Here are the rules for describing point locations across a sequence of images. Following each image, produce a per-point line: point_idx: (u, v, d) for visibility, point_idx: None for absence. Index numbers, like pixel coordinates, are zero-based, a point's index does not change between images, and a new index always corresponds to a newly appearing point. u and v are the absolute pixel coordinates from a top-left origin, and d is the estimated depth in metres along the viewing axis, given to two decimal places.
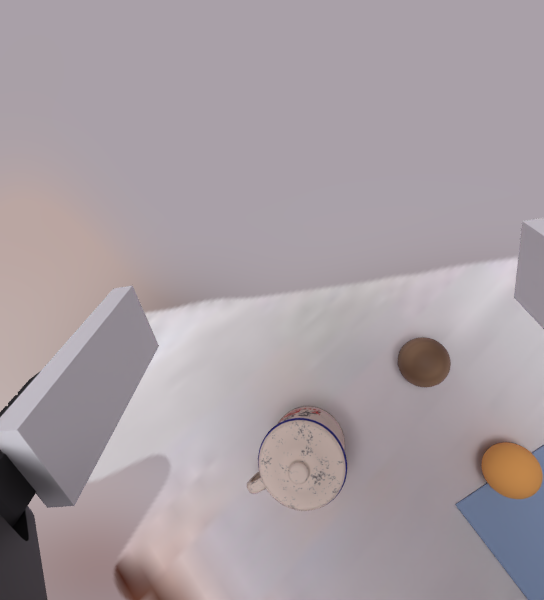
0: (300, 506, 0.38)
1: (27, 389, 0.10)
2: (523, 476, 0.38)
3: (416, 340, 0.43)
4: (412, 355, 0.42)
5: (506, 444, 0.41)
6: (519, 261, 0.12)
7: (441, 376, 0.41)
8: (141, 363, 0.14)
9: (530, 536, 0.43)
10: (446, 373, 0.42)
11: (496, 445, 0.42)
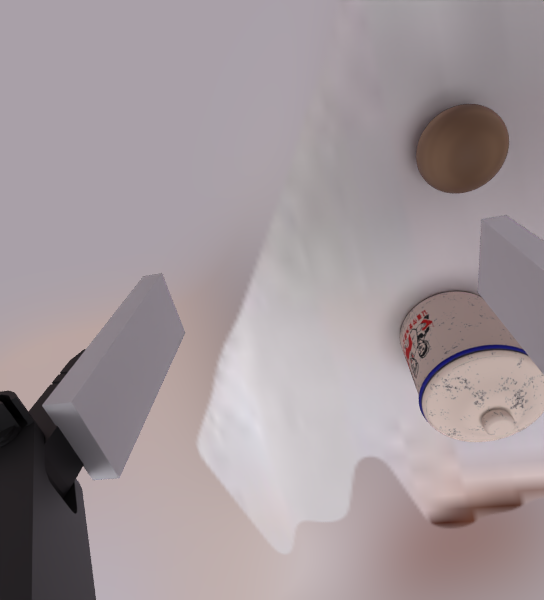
0: (529, 422, 0.29)
1: (74, 366, 0.10)
2: None
3: (425, 147, 0.25)
4: (445, 172, 0.25)
5: None
6: (480, 257, 0.13)
7: (505, 143, 0.24)
8: (171, 347, 0.14)
9: None
10: (505, 130, 0.24)
11: None
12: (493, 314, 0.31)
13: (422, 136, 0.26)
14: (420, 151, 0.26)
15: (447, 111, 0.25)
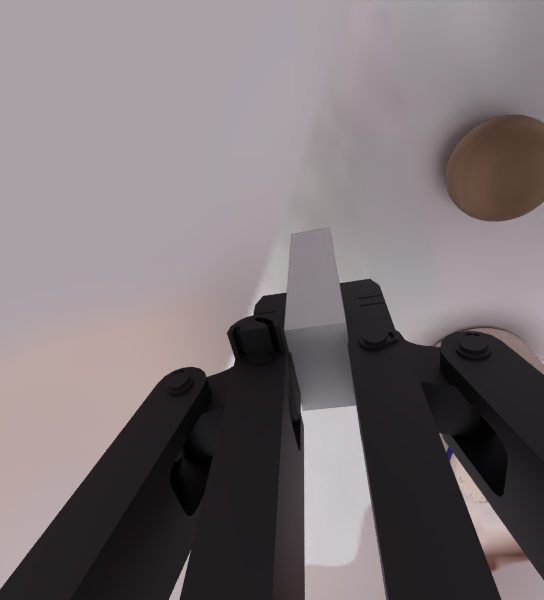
0: None
1: (288, 302, 0.11)
2: None
3: (459, 168, 0.21)
4: (484, 198, 0.20)
5: None
6: None
7: None
8: None
9: None
10: None
11: None
12: (531, 358, 0.27)
13: (454, 153, 0.21)
14: (452, 171, 0.21)
15: (486, 124, 0.20)
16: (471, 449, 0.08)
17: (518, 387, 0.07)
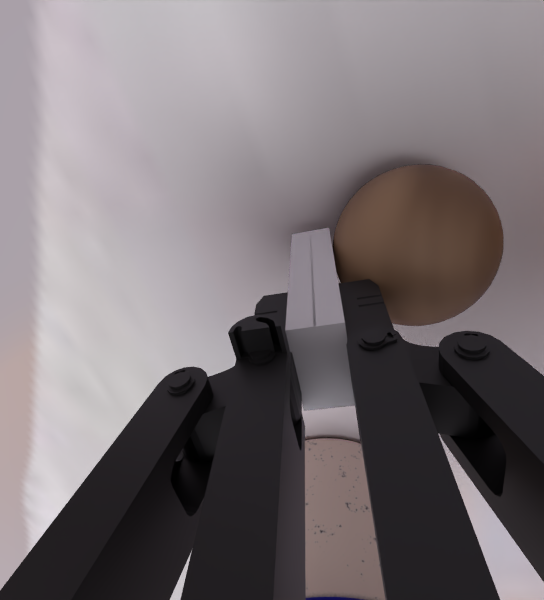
0: None
1: (289, 302, 0.11)
2: None
3: (412, 257, 0.11)
4: (464, 294, 0.12)
5: None
6: None
7: None
8: None
9: None
10: None
11: None
12: None
13: (380, 236, 0.12)
14: (394, 266, 0.11)
15: (406, 180, 0.12)
16: (469, 450, 0.08)
17: (516, 388, 0.07)
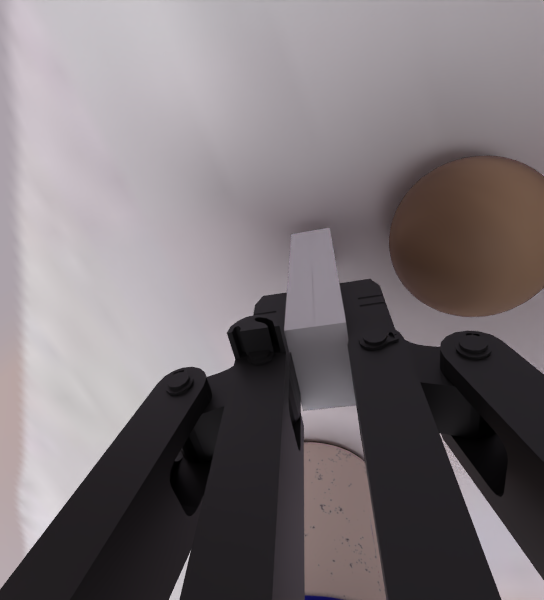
0: None
1: (289, 302, 0.11)
2: None
3: None
4: None
5: None
6: None
7: None
8: None
9: None
10: None
11: None
12: (347, 496, 0.21)
13: None
14: None
15: (499, 160, 0.12)
16: (471, 450, 0.08)
17: (518, 388, 0.07)
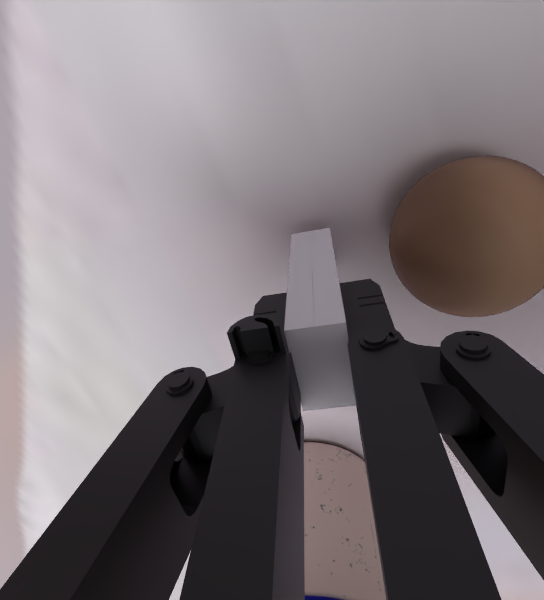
0: None
1: (289, 302, 0.11)
2: None
3: None
4: None
5: None
6: None
7: None
8: None
9: None
10: None
11: None
12: (347, 496, 0.21)
13: None
14: None
15: (499, 160, 0.12)
16: (471, 450, 0.08)
17: (518, 388, 0.07)
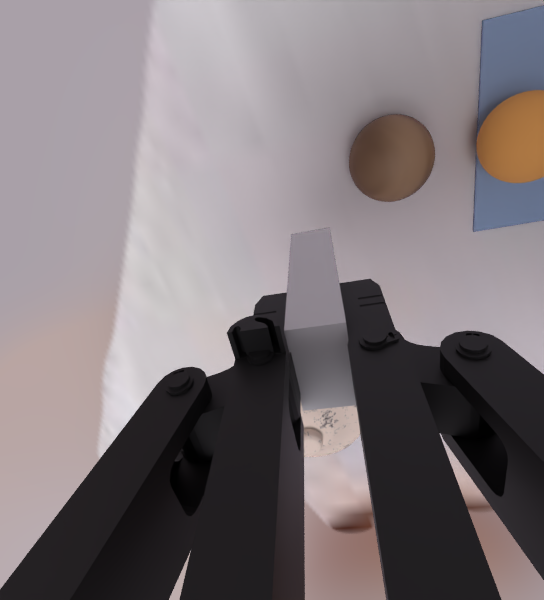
0: (351, 439, 0.31)
1: (289, 302, 0.11)
2: None
3: (430, 139, 0.24)
4: None
5: (527, 124, 0.23)
6: None
7: None
8: None
9: None
10: None
11: (517, 141, 0.23)
12: None
13: (419, 134, 0.24)
14: (429, 145, 0.24)
15: (399, 115, 0.24)
16: (471, 449, 0.08)
17: (517, 387, 0.07)
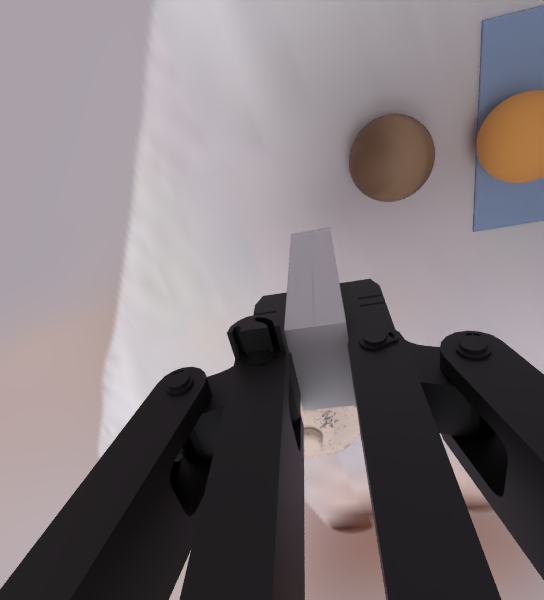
0: (351, 439, 0.31)
1: (289, 302, 0.11)
2: None
3: (430, 139, 0.24)
4: None
5: (527, 124, 0.23)
6: None
7: None
8: None
9: None
10: None
11: (516, 141, 0.23)
12: None
13: (419, 134, 0.24)
14: (429, 145, 0.24)
15: (399, 115, 0.24)
16: (471, 449, 0.08)
17: (518, 387, 0.07)
